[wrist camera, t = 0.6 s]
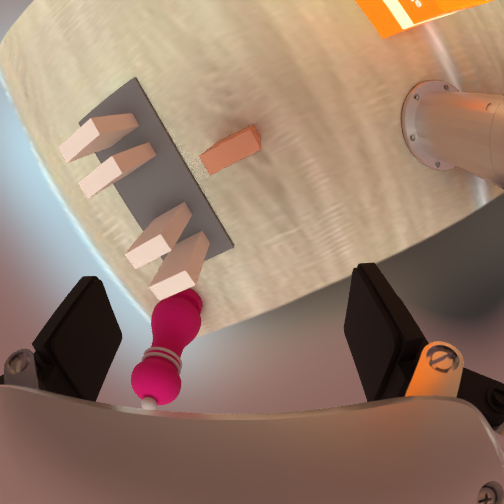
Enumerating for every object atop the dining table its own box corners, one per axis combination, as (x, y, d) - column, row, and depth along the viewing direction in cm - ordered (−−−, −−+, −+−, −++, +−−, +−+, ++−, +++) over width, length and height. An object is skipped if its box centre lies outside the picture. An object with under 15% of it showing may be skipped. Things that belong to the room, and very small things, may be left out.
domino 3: (154, 218, 37) (124, 254, 28) (184, 201, 36) (160, 234, 27) (162, 231, 38) (135, 269, 29) (192, 214, 37) (171, 250, 28)
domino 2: (119, 162, 34) (78, 183, 25) (149, 142, 32) (111, 155, 24) (127, 175, 34) (88, 199, 25) (156, 155, 33) (122, 173, 24)
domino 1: (103, 135, 32) (58, 147, 23) (132, 113, 31) (90, 117, 22) (110, 147, 33) (67, 163, 24) (139, 125, 31) (99, 134, 22)
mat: (136, 77, 29) (134, 77, 28) (234, 245, 39) (233, 247, 39) (80, 122, 31) (78, 122, 31) (174, 272, 42) (173, 275, 41)
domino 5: (215, 143, 33) (199, 156, 24) (252, 124, 32) (250, 129, 23) (223, 157, 34) (210, 175, 25) (260, 138, 33) (260, 149, 24)
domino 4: (172, 245, 39) (148, 287, 30) (202, 230, 38) (185, 270, 29) (179, 257, 40) (159, 300, 31) (210, 242, 39) (195, 285, 30)
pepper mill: (214, 302, 44) (192, 415, 26) (188, 326, 47) (160, 431, 29) (176, 274, 42) (131, 383, 24) (152, 301, 44) (107, 403, 27)
